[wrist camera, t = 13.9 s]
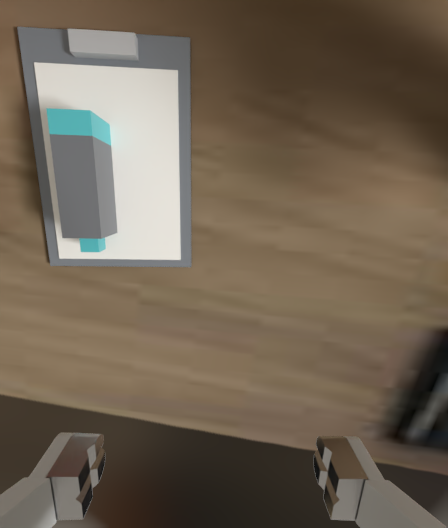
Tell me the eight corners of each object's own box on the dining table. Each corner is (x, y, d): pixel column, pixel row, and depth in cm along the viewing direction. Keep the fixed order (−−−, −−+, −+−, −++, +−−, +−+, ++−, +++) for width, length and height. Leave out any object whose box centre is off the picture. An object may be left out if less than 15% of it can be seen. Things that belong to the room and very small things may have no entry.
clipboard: (190, 41, 26) (189, 31, 24) (191, 265, 31) (190, 269, 30) (21, 30, 25) (9, 19, 23) (53, 264, 31) (45, 267, 29)
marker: (73, 123, 26) (46, 108, 22) (109, 124, 27) (90, 110, 22) (85, 246, 29) (64, 254, 25) (118, 246, 30) (102, 255, 25)
